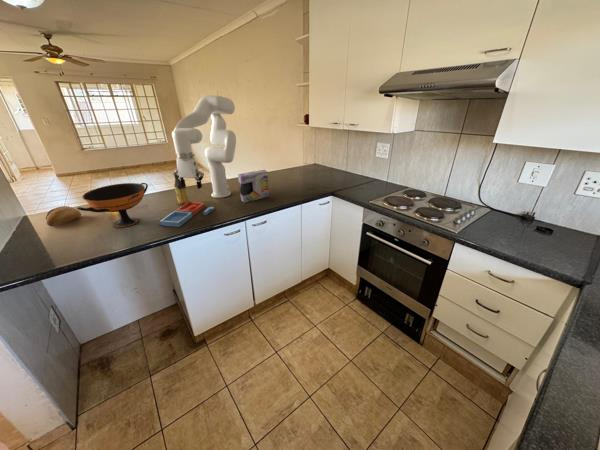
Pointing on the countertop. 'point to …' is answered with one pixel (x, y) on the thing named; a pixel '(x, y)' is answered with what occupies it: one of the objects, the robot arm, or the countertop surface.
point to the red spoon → (191, 207)
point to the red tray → (194, 211)
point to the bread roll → (62, 215)
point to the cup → (116, 200)
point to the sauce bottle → (181, 192)
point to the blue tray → (176, 218)
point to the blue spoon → (208, 210)
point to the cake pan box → (253, 185)
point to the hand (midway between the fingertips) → (191, 187)
